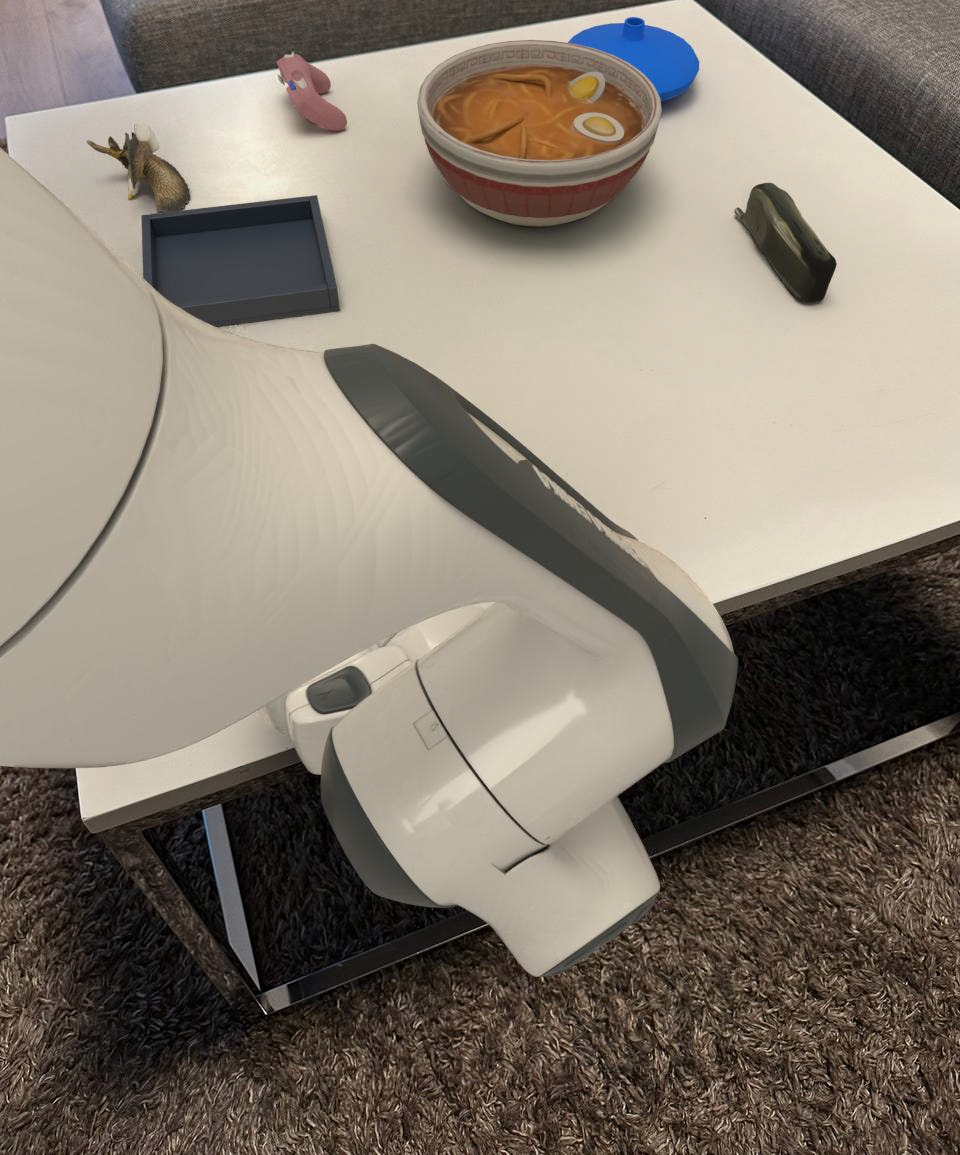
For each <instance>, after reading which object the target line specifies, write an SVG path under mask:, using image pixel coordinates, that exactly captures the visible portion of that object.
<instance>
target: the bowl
mask: <svg viewBox="0 0 960 1155" xmlns="http://www.w3.org/2000/svg"><path fill="white" fill-rule="evenodd" d="M416 104H417V111H418V118H419V119H418V120H419V124H420V128H421V135H422V136H423V137H424V142H425V145H426V148H427V151H428V154H429V156H430V158H431V159H432V161H433V163H434V165H435V167H436V168H437V170H438V171H439V173H440V174H441V176H442V178H443V179H444V181H445V182H446V184H447V185H448V186H449V187H450V188H451V189H452V190H453V191H454V192H455V193H456V194H457V195H459V197H461V198H462V199H463V200H464V201H465V202H466V203H467V205H469V206H471V207H472V208H474V210H477V211H478V212H480V213H482V214H484V215H487V216H488V217H491V218H493V219H496V220H498V221H501V222H504V223H508V224H510V225H515V226H522V227H532V228H534V227H535V228H542V227H554V226H558V225H563V224H564V225H565V224H567V223H571V222H574V221H578V220H581V219H584V218H586V217H588V216H590V215H591V214H594V213H596V212H597V211H599V210H600V209H602V208H603V207H604V206H605V205H607V204H608V203H610V202H611V201H612V200H614V199H615V197H617V196H618V195H620V193H622V192H623V191H624V190H625V188H626V187H627V186H628V185H629V184H630V182H631V181H632V180H633V179H634V177H635V176H636V175H637V173H638V171H640V169H641V167H642V166H643V165H644V163H645V161H646V159H647V157H648V155H649V153H650V150H651V147H652V146H653V145H654V143H655V139H656V135H657V131H658V128H659V125H660V122H661V117H662V113H663V110H662V109H663V108H662V101H661V100H660V96H659V94H658V92H657V90H656V88H655V86H654V85H653V84H652V83H651V81H650V80H649V79H648V78H647V77H646V76H645V75H644V74H643V73H642V72H641V71H639V70H638V69H637V68H635V67H634V66H632V65H631V64H630V63H628V62H626V61H624V60H622V59H620V58H618V57H616V56H614V55H611V54H608V53H606V52H603V51H600V50H597V49H594V48H590V47H586V46H582V45H578V44H573V43H568V42H564V41H558V40H557V41H556V40H542V39H523V40H520V39H519V40H507V41H501V42H493V43H487V44H484V45H479V46H476V47H473V48H469V49H466V50H464V51H462V52H459V53H457V54H455V55H453V56H450V57H449V58H447V59H445V60H444V61H442V62H441V63H439V64H438V65H437V66H436V67H435V68H434V69H432V70H431V72H429V73H428V75H426V77H425V79H423V82H422V84H421V86H420V87H419V89H418V95H417V102H416Z"/></svg>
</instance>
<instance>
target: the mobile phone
mask: <svg viewBox="0 0 960 1155" xmlns="http://www.w3.org/2000/svg"><path fill="white" fill-rule="evenodd" d="M733 212H734V214H735V215H736V217H737V218H738V219H739V220H740V221H741V222H742V224H743V225H744V226H745V227H746V229H747V230H748V231H749V233H750V235H751V236H752V238H753V239H754V240H755V243H756V245H757V246H758V248H759V249H760V250H761V252H762V253H763V254H764V256H765V257H766V258H767V260H768V261H769V263H770V265H771V266H772V269H773V270H774V271H775V273H776V275H778V277H779V279H780V280H781V281H782V283H783V284H784V286H785V287H786V289H787V291H788V292H789V293H790V295H791V296H793V297H794V298H795V299H797V300H798V301H799V302H803V303H807V304H808V303H810V304H811V303H813V304H815V303H819V302H822V301H824V300H825V297H826V294H827V291H828V289H829V286H830V283H831V281H832V279H833V276H834V274H835V271H836V268H837V264H838V263H837V260H836V258H835V257H834V256H833V255H832V253H830V251H829V250H828V249H827V248H826V247H825V245H824V244H823V242H822V241H821V240H820V238H819V237H818V235H817V234H816V232H815V231H814V230H813V228H812V227H811V226H810V225H809V224H808V222H807V221H806V220H805V218H804V217H803V215H802V213H801V212H800V209H799V208H798V206H797V205H796V203H795V201H794V199H793V197H792V196H791V195H790V194H789V193H788V192H787V191H786V190H785V189H782V188H780V187H778V185H776V184H775V183H773V182H763V183H758V184H756V185H754V186H753V187H752V188H751V190H750V193H749V196H748V199H747V202H746V208H745V212H744V211H743V209H741V208H740V207H738V206H737V207H736V208H735V209H734V210H733Z"/></svg>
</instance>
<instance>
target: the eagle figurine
mask: <svg viewBox="0 0 960 1155" xmlns="http://www.w3.org/2000/svg"><path fill="white" fill-rule="evenodd" d="M133 130H134V131H131V138H130V134H129V133H128V132H125V133H124V136H125V138H124V139H125V140H124V143H123V146H122V148H120V146H119V143H118V142H117V141H115V139H114V138H113V136H111V135H110V136H108V138H107V143H108V144H107V145H108V147H105V146H102V145H99V144H97V143H96V142H94V141H92V140H89V139H88V140H87V141H86V144H88V145H89V146H90V147H91V148H92V149H93V150H95V151H96V152H99V153H101V154H105V155H108V156H111V157H112V158H114V159H116V160H117V161H119V163H121V165H122V166H123V167H124V169H126V170H127V177H128V178H127V179H128V181H127V182H128V183H127V189H128V197H127V199H128V200H131V199H132V198H133V197H134V196H135V195H136V194H137V193H138V191H139V187H140V183H141V182H142V180H143V179H144V180H146V181H147V182H149V185H150V187H151V189H152V192H153V194H154V202H155V207H156V210H157V212H158V213H164V212H173V211H182V209H185V207H186V204H188V203H189V200H190V198H191V192H190V188H189V185H188V183H187V182H186V180H185V178H184V177H183V176H182V175H181V173H180V172H179V171H178V169H177V168H176V167H175V166H174V165H173V164H171V163H170V162H169V161H167V160H166V159H163V158H162V157H160V156H157V155H156V154H155V153H156V152H157V151H158V150H159V149H160V142H159V140H158V138H157V137H156V134H155V132H154V131H153V130H152V128H151V126H149V125H147V124H146V123H144V122H137V123H135V124H134V125H133Z"/></svg>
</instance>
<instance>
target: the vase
mask: <svg viewBox="0 0 960 1155" xmlns="http://www.w3.org/2000/svg"><path fill="white" fill-rule="evenodd" d="M567 43H573V44H578V45H582V46H586V47H590V48H594V49H597V50H600V51H603V52H606V53H608V54H611V55H614V56H616V57H618V58H620V59H622V60H624V61H626V62H628V63H630V64H631V65H632V66H634V67H635V68H637V69H638V70H639V71H641V72H642V73H643V74H644V75H645V76H646V77H647V78H648V79H649V80H650V81H651V83H652V84H653V85H654V86H655V88H656V90H657V92H658V94H659V96H660V100H661V102H664V101H668V100H671V99H673V98H676V97H678V96H680V95H681V94H683V93H685V91H687V90H688V89H690V87H691V86H692V84H693V82H694V81H695V79H696V77H697V75H698V74H699V71H700V59H699V58H698V56H697V54H696V52H695V50H694V48H693V47H692V45H691V44H690V43H689V42H687V41H686V40H685V38H683V37H681V36H680V35H678V34H676V33H674V32H672V31H670V30H667V29H663V28H661V27H657V26H653V25H648V24H646V21H645V20H644V19H643V18H641V17H637V16H629V17H627V18H625V19H624V22H614V23H613V22H611V23H604V24H599V25H595V26H594V25H593V26H592V27H589V28H586V29H583V30H580V32H578V33H576V34H575V35H573V36H572V37H571V38H570V39H569V40H568V42H567Z"/></svg>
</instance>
